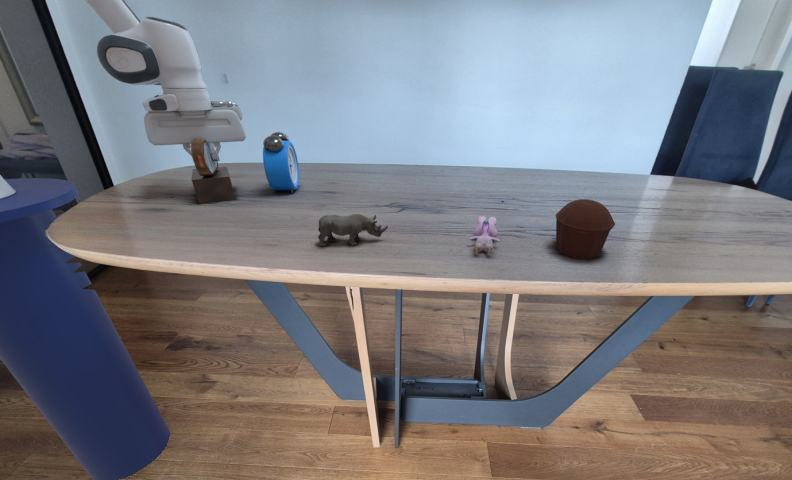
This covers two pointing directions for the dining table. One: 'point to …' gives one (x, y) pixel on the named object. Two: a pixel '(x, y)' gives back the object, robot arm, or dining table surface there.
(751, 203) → the dining table surface
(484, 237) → the rabbit figure
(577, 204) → the muffin
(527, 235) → the dining table surface
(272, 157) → the alarm clock
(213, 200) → the walnut block
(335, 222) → the rhino figurine
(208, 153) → the tin
